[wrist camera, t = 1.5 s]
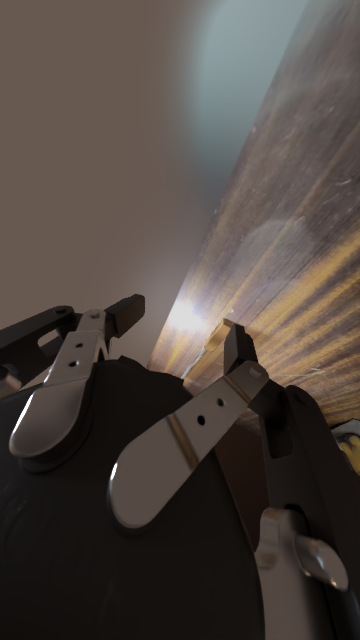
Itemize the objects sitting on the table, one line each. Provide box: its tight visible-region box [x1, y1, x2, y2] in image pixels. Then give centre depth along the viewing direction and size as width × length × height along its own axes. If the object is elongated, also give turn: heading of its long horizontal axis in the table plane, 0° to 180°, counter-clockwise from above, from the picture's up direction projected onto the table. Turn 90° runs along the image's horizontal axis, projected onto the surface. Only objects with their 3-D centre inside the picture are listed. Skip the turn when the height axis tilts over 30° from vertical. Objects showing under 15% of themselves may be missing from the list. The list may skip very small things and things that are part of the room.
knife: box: [181, 318, 232, 379], centre depth 38 cm, size 29×2×3 cm, turn 158°
